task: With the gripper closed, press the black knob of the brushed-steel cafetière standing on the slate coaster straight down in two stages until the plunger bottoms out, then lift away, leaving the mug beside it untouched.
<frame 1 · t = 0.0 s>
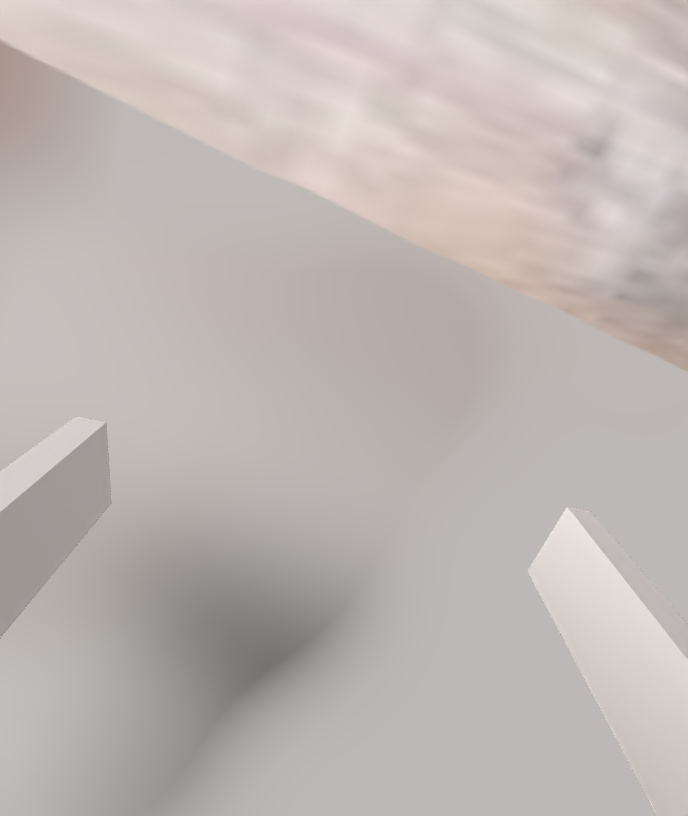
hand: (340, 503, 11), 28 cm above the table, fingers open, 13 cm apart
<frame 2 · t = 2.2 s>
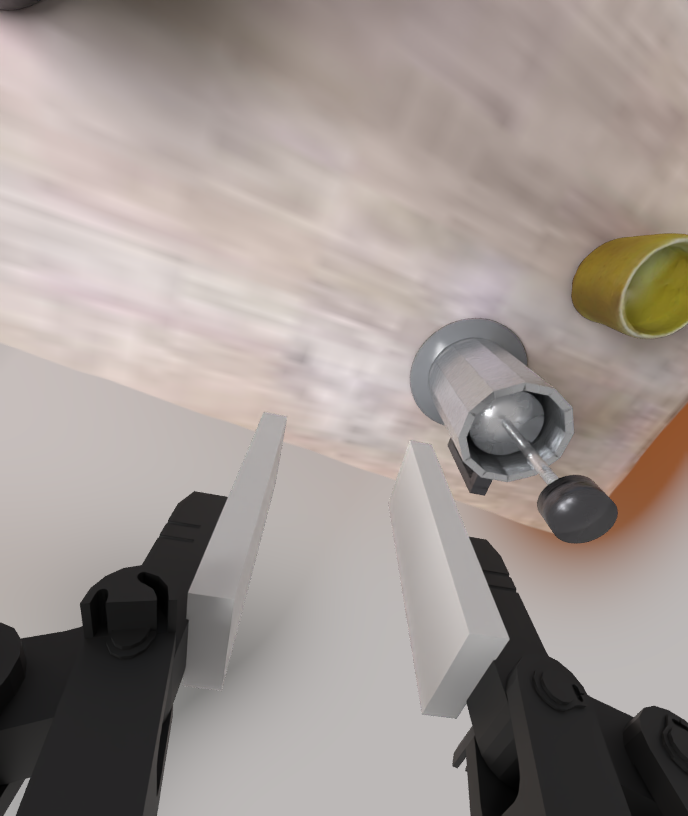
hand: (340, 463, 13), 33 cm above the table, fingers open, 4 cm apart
mug: (622, 282, 42), on the table
coaster: (467, 375, 46), on the table
flanged octagonal cup: (468, 377, 46), resting on coaster
plunger: (535, 459, 30), point 18 cm above the table, slide at 0.0 cm
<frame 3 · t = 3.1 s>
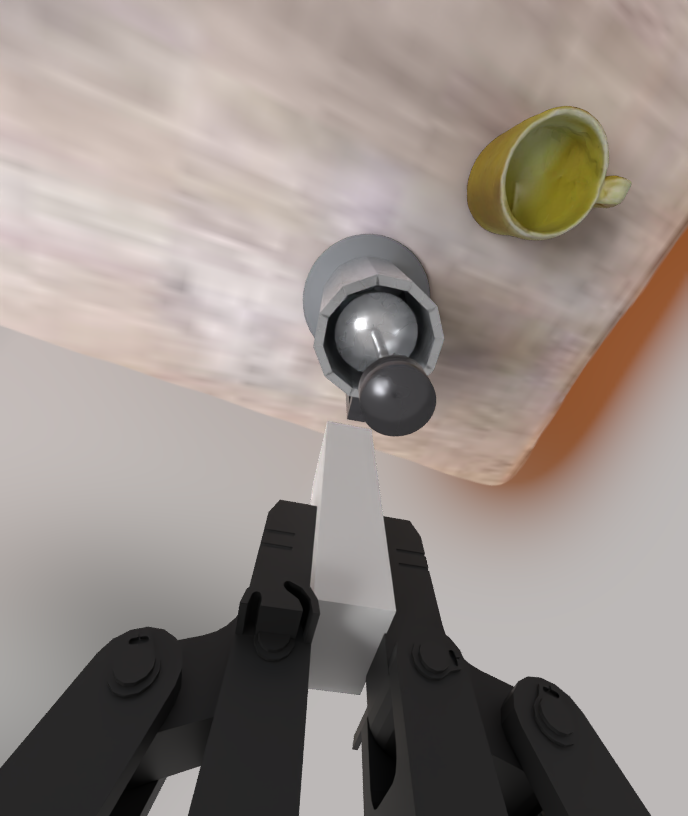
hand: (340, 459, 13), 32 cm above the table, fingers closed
mug: (525, 188, 37), on the table
coaster: (366, 302, 42), on the table
flanged octagonal cup: (366, 304, 42), resting on coaster
plunger: (384, 359, 26), point 18 cm above the table, slide at 0.0 cm
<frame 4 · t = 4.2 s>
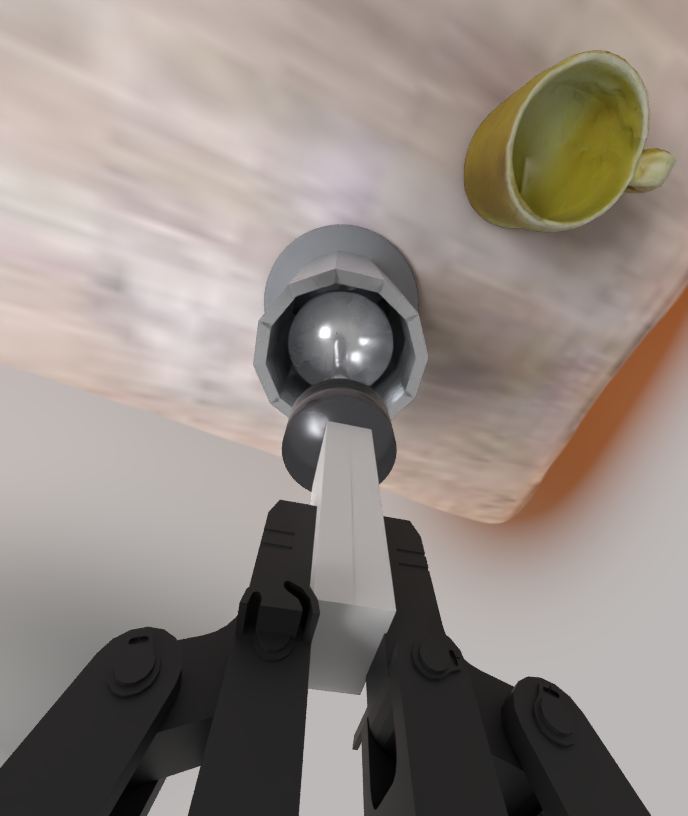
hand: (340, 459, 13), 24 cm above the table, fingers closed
mug: (536, 171, 30), on the table
coaster: (341, 308, 35), on the table
flanged octagonal cup: (341, 310, 34), resting on coaster
plunger: (340, 380, 19), point 17 cm above the table, slide at 0.9 cm, touching gripper
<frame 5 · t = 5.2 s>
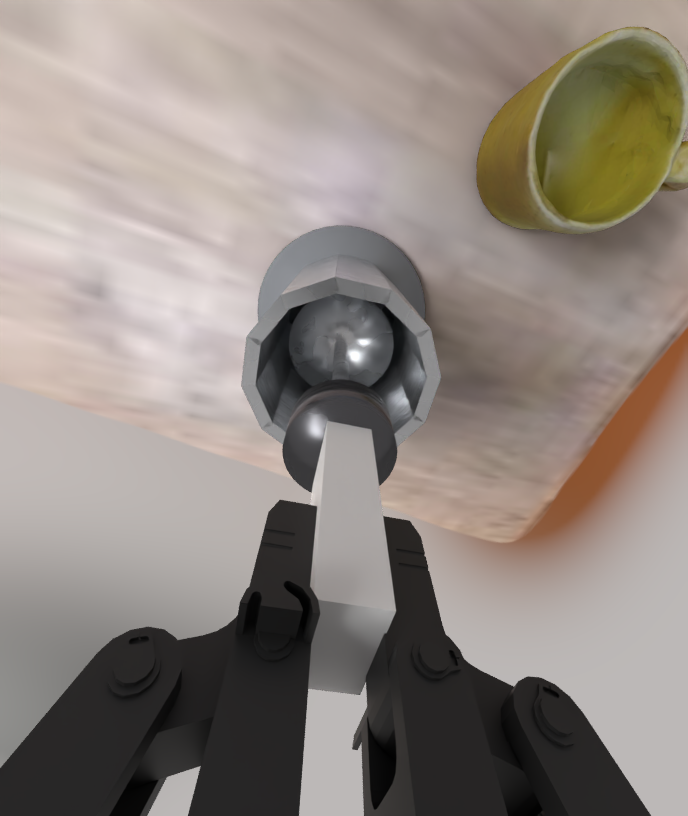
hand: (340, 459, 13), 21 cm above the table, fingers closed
mug: (555, 167, 28), on the table
coaster: (341, 316, 32), on the table
flanged octagonal cup: (341, 318, 32), resting on coaster
plunger: (340, 381, 19), point 14 cm above the table, slide at 3.9 cm, touching gripper
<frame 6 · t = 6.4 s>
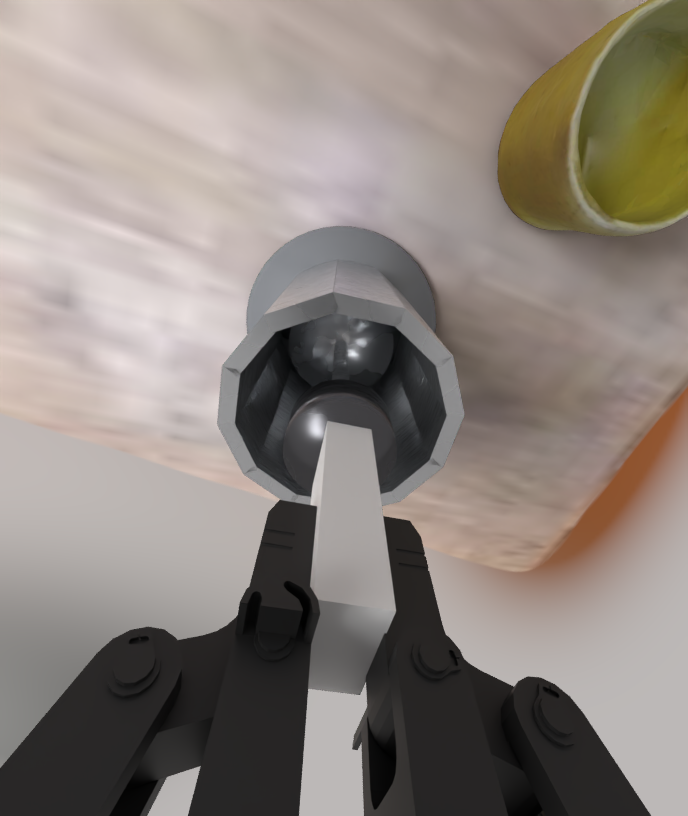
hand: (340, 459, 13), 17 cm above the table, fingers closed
mug: (587, 159, 24), on the table
coaster: (341, 328, 28), on the table
flanged octagonal cup: (341, 330, 28), resting on coaster
plunger: (340, 381, 19), point 10 cm above the table, slide at 8.0 cm, touching gripper
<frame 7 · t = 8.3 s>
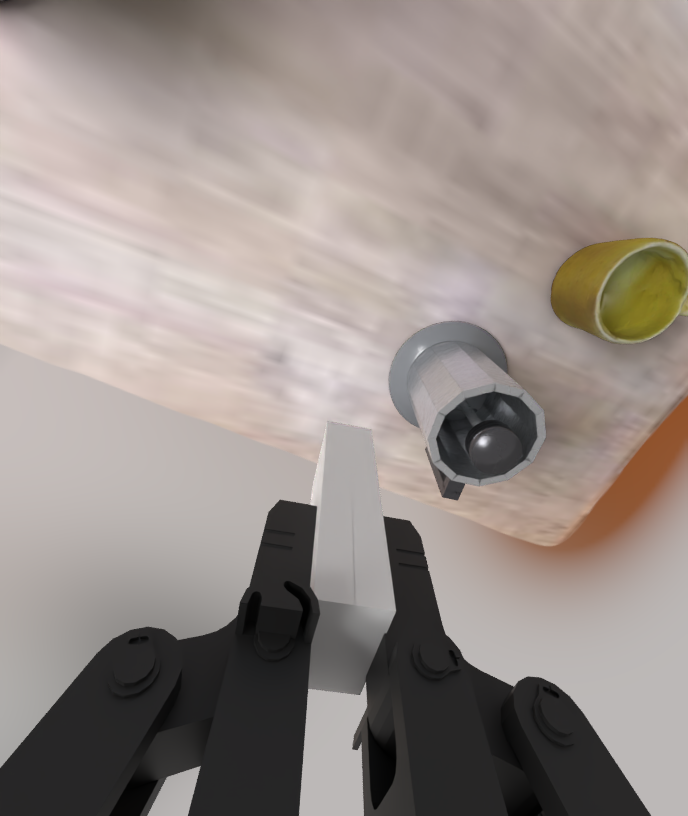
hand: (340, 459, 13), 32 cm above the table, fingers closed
mug: (602, 288, 41), on the table
coaster: (446, 379, 46), on the table
flanged octagonal cup: (447, 380, 45), resting on coaster
plunger: (472, 416, 36), point 10 cm above the table, slide at 8.0 cm
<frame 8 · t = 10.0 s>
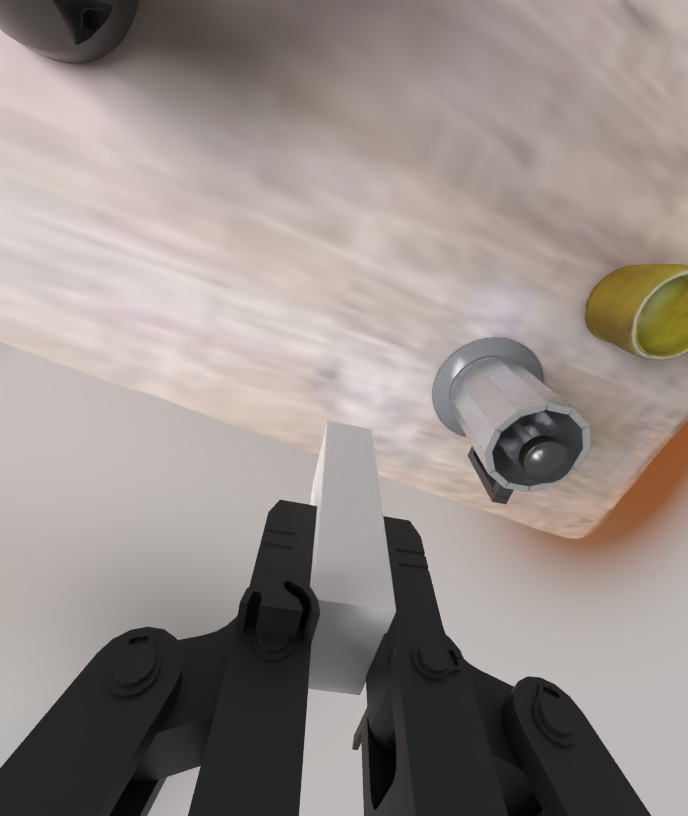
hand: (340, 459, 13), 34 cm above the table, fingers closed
mug: (632, 305, 45), on the table
coaster: (485, 389, 49), on the table
flanged octagonal cup: (487, 391, 49), resting on coaster
plunger: (519, 429, 40), point 10 cm above the table, slide at 8.0 cm
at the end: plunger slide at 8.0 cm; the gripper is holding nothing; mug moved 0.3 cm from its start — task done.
